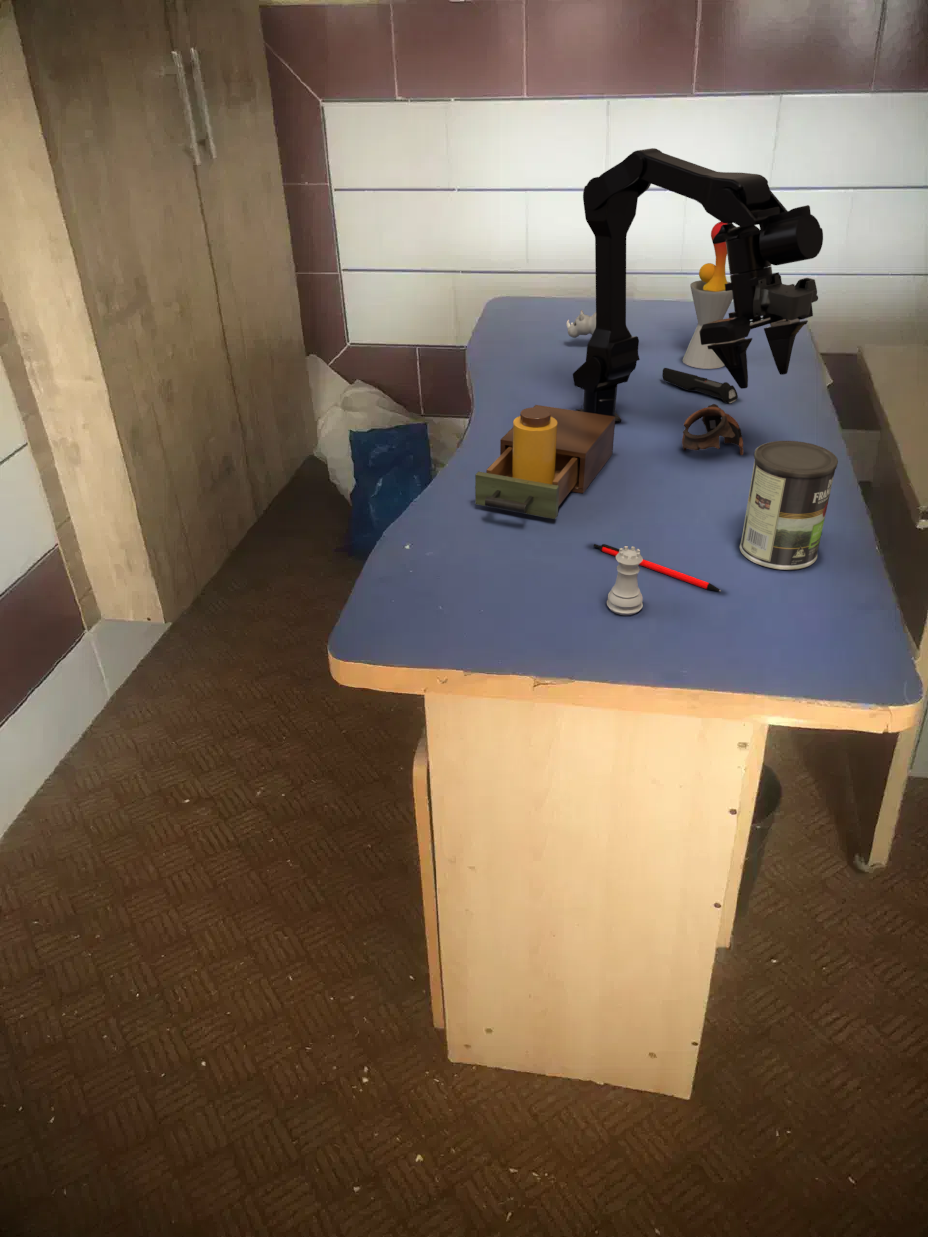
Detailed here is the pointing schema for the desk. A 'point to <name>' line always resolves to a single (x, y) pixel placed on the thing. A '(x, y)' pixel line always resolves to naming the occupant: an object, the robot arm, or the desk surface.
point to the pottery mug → (712, 430)
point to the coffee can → (787, 504)
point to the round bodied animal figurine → (582, 325)
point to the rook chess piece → (626, 583)
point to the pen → (662, 569)
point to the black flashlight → (700, 385)
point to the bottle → (534, 445)
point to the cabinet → (579, 441)
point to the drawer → (525, 487)
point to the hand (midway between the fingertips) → (764, 381)
